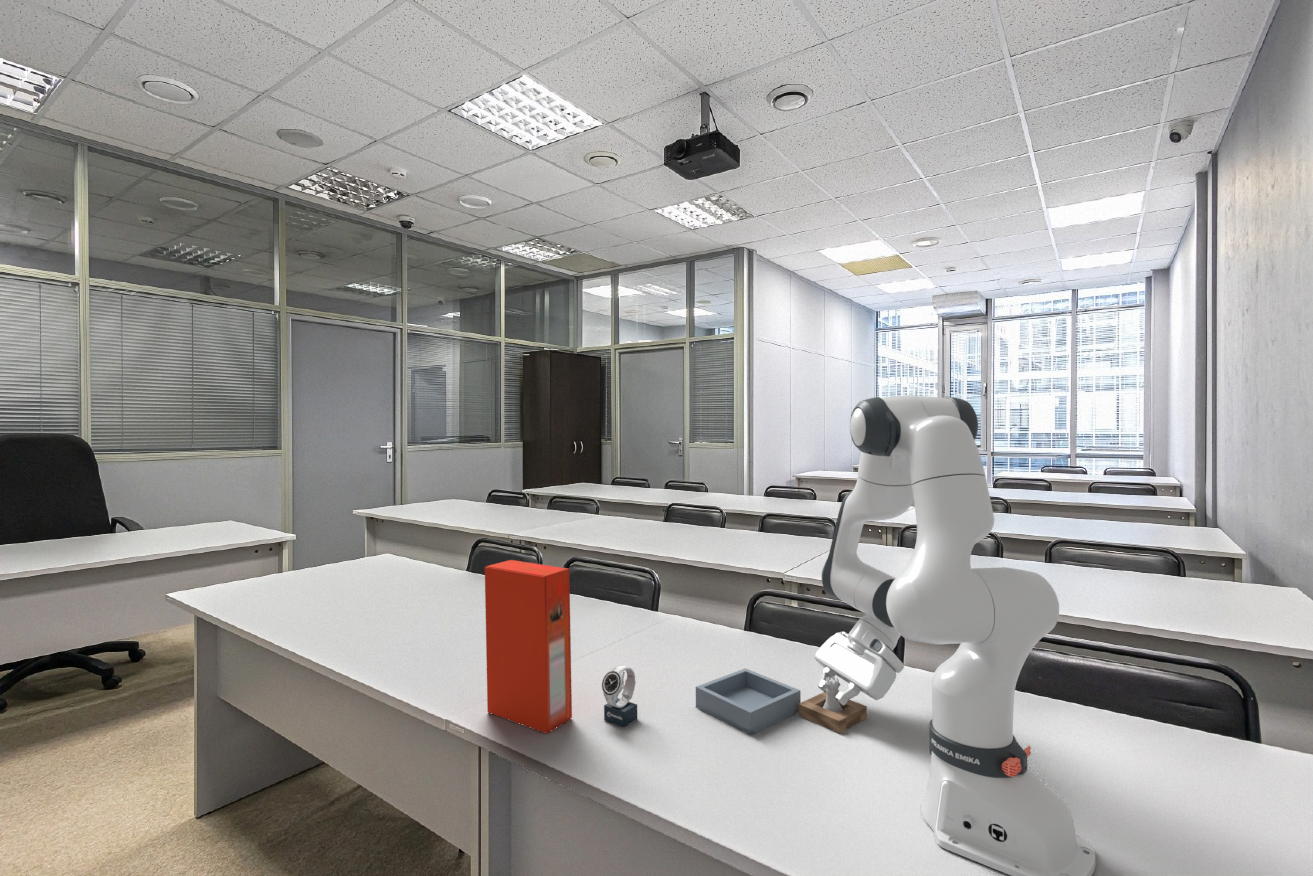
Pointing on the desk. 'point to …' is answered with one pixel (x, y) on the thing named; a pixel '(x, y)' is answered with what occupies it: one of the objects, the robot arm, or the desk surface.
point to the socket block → (832, 713)
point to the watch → (612, 686)
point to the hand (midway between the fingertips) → (829, 695)
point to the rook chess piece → (832, 695)
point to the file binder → (528, 643)
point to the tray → (748, 700)
